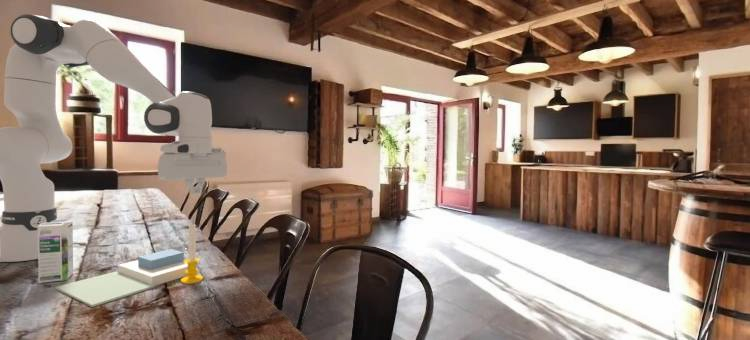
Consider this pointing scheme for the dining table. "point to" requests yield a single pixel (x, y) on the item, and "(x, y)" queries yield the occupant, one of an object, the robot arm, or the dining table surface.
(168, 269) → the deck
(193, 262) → the candle
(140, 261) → the tile
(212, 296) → the dining table surface
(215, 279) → the dining table surface
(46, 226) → the syrup box
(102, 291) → the mat
